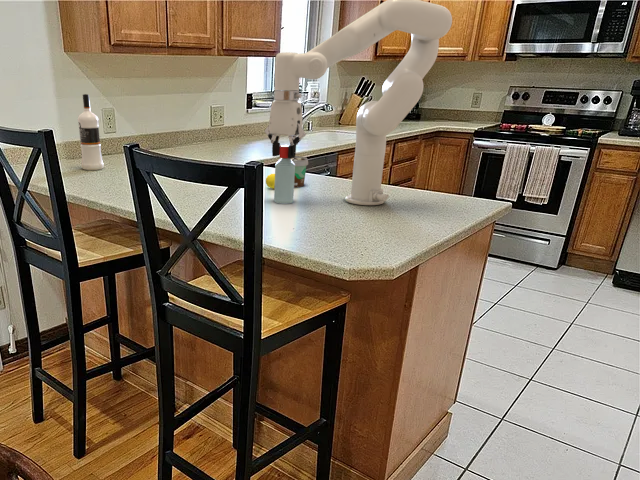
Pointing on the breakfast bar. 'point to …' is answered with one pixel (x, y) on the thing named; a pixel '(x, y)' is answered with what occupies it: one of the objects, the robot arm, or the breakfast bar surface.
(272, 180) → the lemon
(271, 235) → the breakfast bar surface
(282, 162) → the bottle
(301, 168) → the food container
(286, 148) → the cap
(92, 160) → the vodka
